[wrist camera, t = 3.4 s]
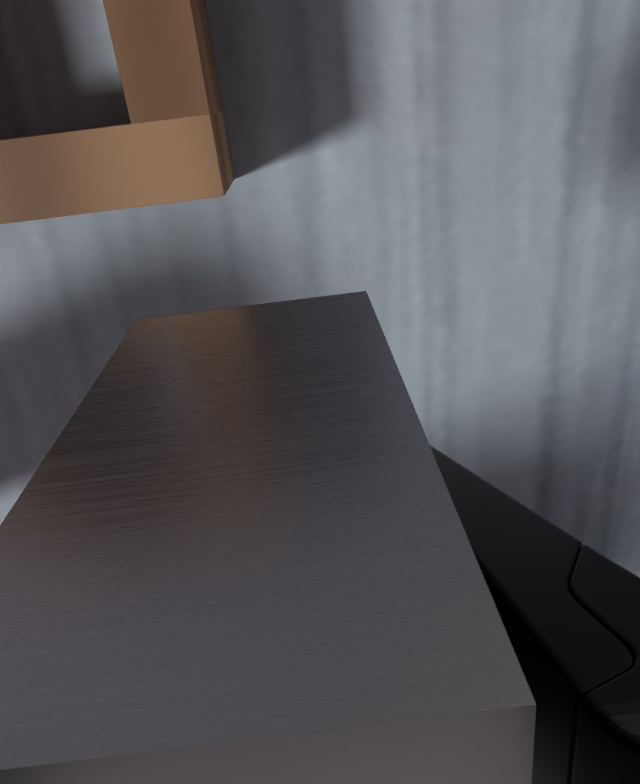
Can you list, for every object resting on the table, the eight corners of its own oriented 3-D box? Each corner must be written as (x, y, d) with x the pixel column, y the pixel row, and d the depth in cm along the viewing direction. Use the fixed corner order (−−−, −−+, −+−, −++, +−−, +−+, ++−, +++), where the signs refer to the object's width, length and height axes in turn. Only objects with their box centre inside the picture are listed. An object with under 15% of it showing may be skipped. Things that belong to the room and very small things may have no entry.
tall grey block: (366, 291, 11) (537, 704, 3) (382, 482, 12) (516, 1023, 5) (136, 319, 11) (-175, 793, 3) (184, 507, 12) (46, 1078, 5)
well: (163, -244, 15) (131, -333, 12) (234, 179, 20) (223, 196, 16) (-238, -193, 15) (-375, -268, 12) (-78, 218, 20) (-148, 242, 16)
